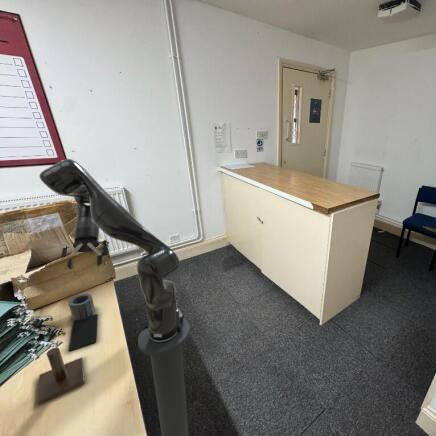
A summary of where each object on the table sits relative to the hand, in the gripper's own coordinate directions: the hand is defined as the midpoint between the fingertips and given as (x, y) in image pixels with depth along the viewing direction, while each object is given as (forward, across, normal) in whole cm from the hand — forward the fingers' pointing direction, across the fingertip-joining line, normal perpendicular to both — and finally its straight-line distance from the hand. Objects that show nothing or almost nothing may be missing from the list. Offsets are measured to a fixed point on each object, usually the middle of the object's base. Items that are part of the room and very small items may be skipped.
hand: (85, 267), depth 92 cm
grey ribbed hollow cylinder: (+18, 0, +2) cm, 18 cm away
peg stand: (+37, +1, -17) cm, 41 cm away
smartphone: (+25, +2, -4) cm, 25 cm away
